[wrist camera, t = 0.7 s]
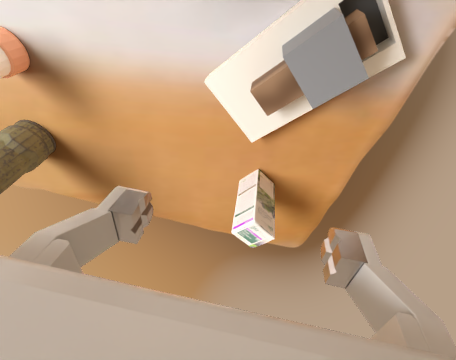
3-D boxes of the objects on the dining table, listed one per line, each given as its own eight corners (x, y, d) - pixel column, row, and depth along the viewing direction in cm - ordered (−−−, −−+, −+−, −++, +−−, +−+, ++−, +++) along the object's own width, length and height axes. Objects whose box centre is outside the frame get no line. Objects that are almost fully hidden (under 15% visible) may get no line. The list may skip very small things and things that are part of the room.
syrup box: (238, 180, 54) (229, 234, 43) (259, 167, 51) (254, 222, 40) (255, 194, 56) (250, 249, 46) (276, 183, 53) (276, 239, 42)
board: (208, 75, 40) (195, 95, 34) (364, -51, 28) (388, -54, 22) (253, 133, 46) (249, 160, 40) (397, 51, 34) (423, 71, 28)
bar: (252, 82, 36) (250, 91, 34) (356, 8, 29) (364, 13, 26) (268, 106, 38) (267, 116, 36) (369, 43, 31) (378, 50, 28)
